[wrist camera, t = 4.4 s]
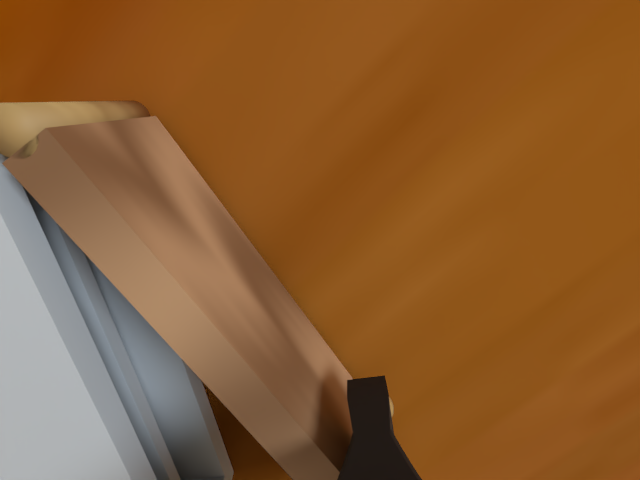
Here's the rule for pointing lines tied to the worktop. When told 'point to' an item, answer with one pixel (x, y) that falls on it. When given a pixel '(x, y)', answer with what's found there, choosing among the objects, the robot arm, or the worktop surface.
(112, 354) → the cabinet
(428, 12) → the worktop surface
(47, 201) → the door
